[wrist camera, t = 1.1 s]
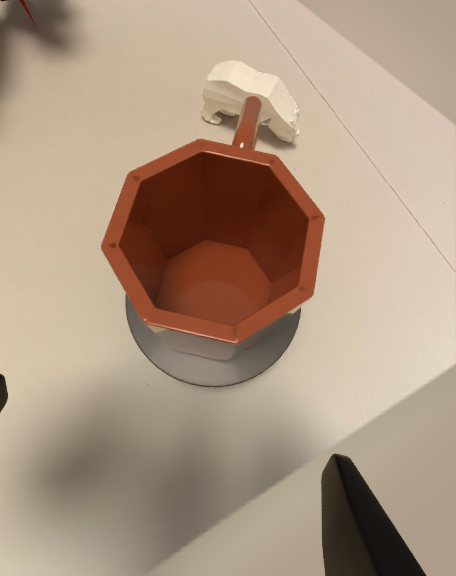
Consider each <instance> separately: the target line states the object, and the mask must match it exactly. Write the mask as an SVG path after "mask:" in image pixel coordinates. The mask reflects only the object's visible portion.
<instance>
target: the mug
mask: <svg viewBox="0 0 456 576" xmlns="http://www.w3.org/2000/svg"><path fill="white" fill-rule="evenodd" d="M261 114H262V102H261V100H260V99H259V98H258V97H256V96H249V97H248V98H246V99H245V100H244V102H243V105H242V108H241V112H240V116H239V120H238V123H237V127H236V131H235V135H234V138H233V142H232V145H227V144H222V143H218V142H213V141H209V140H204V139H197V140H195V141H193V142H191V143H189V144H187V145H185V146H183V147H181V148H179V149H177V150H174V151H172V152H170V153H168V154H166V155H164V156H162V157H160V158H158V159H156V160H154V161H152V162H149V163H147V164H145V165H143V166H141V167H139V168H137V169H135V170H133V171H131V172H129V174H128V175H127V177H126V180H125V183H124V185H123V188H122V191H121V194H120V196H119V199H118V202H117V204H116V207H115V210H114V212H113V215H112V218H111V221H110V223H109V226H108V229H107V231H106V234H105V237H104V239H103V242H102V245H101V249H102V252H103V253H104V255H105V257H106V259H107V260H108V262H109V264H110V266H111V267H112V269H113V271H114V273H115V274H116V276H117V278H118V280H119V281H120V283H121V285H122V287H123V288H124V290H125V292H126V294H127V295H128V297H129V299H130V301H131V302H132V304H133V306H134V308H135V309H136V311H137V313H138V315H139V316H140V318H141V320H142V322H143V323H145V324H146V325H147V326H148V327H149V328H150V329H151V330H152V331H153V332H154V333H155V334H156V335H157V336H159V337H160V338H161V339H162V340H163V341H164V342H165V343H166V344H167V345H168V346H169V347H170V348H172V349H173V350H177V351H181V352H186V353H189V354H191V355H194V356H197V357H202V358H208V359H216V360H220V361H224V362H226V361H229V360H230V359H232V358H234V357H235V356H237V355H238V354H240V353H242V352H244V351H245V350H247V349H249V348H250V347H252V346H253V345H254V344H256V343H257V342H258V341H260V340H261V339H263V338H264V337H266V336H268V335H269V334H271V333H272V332H273V331H274V330H275V329H277V328H278V327H279V326H280V325H281V324H282V323H283V322H284V321H286V320H287V319H288V318H289V317H290V316H291V315H292V314H293V313H295V312H296V311H297V310H298V309H299V308H300V307H301V306H302V305H304V304H305V303H306V302H307V301H308V300H309V299H310V298H311V297H312V296H313V294H314V288H315V281H316V275H317V268H318V262H319V255H320V248H321V242H322V235H323V228H324V222H325V217H324V215H323V214H322V212H321V211H320V210H319V208H318V207H317V206H316V205H315V203H314V202H313V201H312V199H311V198H310V197H309V196H308V194H307V193H306V192H305V191H304V189H303V188H302V187H301V185H300V184H299V183H298V182H297V180H296V179H295V178H294V176H293V175H292V174H291V173H290V171H289V170H288V169H287V168H286V166H285V165H284V164H283V162H282V161H281V160H280V159H279V157H277V156H276V155H273V154H268V153H263V152H259V151H255V146H256V141H257V136H258V130H259V125H260V119H261Z"/></svg>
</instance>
